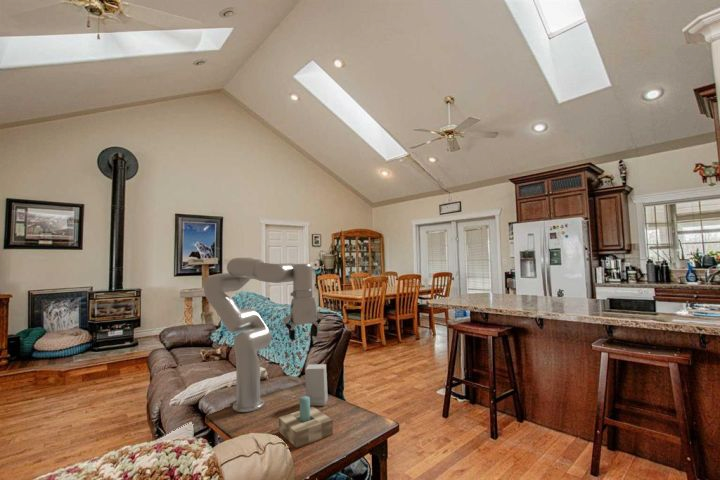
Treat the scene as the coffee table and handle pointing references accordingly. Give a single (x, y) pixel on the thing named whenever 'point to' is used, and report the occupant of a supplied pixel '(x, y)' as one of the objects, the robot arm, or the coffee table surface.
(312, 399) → the skincare box
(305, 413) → the peg
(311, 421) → the socket block
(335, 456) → the coffee table surface
